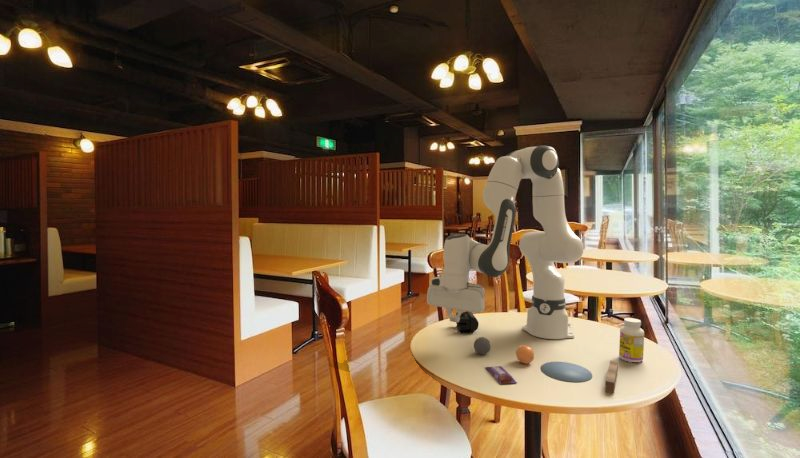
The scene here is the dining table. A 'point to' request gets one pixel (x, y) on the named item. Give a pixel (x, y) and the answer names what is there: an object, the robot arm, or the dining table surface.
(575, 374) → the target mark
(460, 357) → the dining table surface
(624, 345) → the supplement bottle
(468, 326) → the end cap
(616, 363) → the wall
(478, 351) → the dark gray ball
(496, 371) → the snack package
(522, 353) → the object ball
